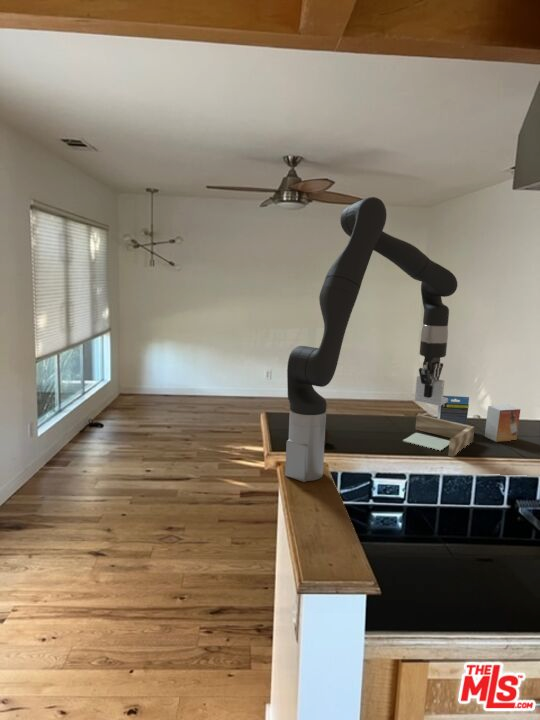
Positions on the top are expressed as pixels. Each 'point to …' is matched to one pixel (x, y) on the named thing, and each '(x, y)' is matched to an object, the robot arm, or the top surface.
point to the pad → (427, 441)
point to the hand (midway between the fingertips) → (428, 396)
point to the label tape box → (454, 410)
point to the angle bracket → (436, 392)
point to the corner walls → (447, 432)
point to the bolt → (326, 436)
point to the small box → (502, 423)
